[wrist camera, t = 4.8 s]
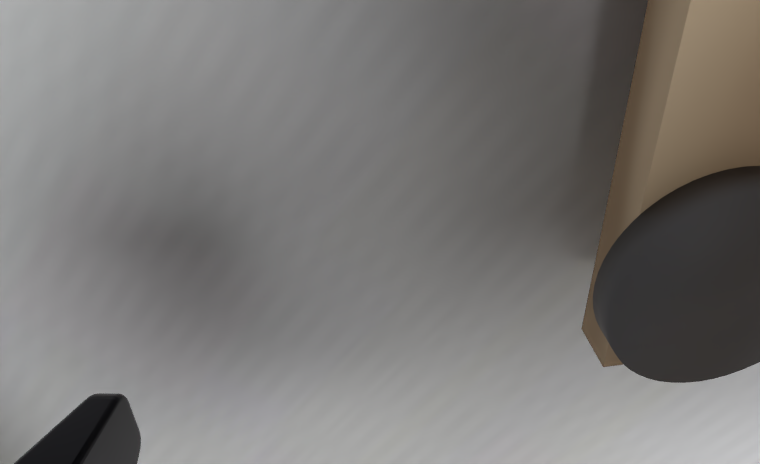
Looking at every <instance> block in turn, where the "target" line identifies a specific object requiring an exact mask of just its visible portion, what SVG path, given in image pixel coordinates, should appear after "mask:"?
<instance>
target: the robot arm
mask: <svg viewBox="0 0 760 464" xmlns="http://www.w3.org/2000/svg"><path fill="white" fill-rule="evenodd" d="M140 446H141V437H140V431H139V428H138V426H137V423H136V420H135V418H134V415H133V412H132V410H131V407H130V404H129V402H128V400H127V398H126V397H125V396H124V395H122V394H94V395H92V396H90V397H88V398H87V399H86V400H85V401H83V402H82V403H81V404H80V405H79V406H78V407H77V408H76V409H75V410H73V411H72V412H71V413H70V414H69V415H68V416H67V417H66V418H64V419H63V420H62V421H61V422H60V423H59V424H58V425H57V426H55V427H54V428H53V429H52V430H51V431H50V432H49V433H48V434H47V435H45V436H44V437H43V438H42V439H41V440H40V441H39V442H38V443H36V444H35V445H34V446H33V447H32V448H31V449H30V450H29V451H27V452H26V453H25V454H24V455H23V456H22V457H21V458H20V459H19V460H17V461H16V462H15V463H14V464H137V461H138V457H139V452H140Z"/></svg>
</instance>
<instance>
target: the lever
mask: <svg viewBox="0 0 760 464" xmlns="http://www.w3.org/2000/svg"><path fill="white" fill-rule="evenodd" d="M582 330H583V332H584V334H585V336H586V337H587V339H588V341H589V343H590V345H591V346H592V348H593V350H594V352H595V353H596V355H597V357H598V359H599V361H600V362H601V364H602V366H603V367H607V366H614V365H622V364H624V365H625V366H626V367H627V368H629V369H630V370H632V371H634V372H635V373H637V374H639V375H641V376H644V377H646V378H649V379H653V380H657V381H664V382H684V383H685V382H696V381H703V380H708V379H714V378H717V377H721V376H725V375H728V374H731V373H734V372H737V371H740V370H742V369H745V368H747V367H749V366H752V365H754V364H756V363H758V362H760V0H648V3H647V8H646V13H645V18H644V23H643V28H642V33H641V38H640V43H639V48H638V53H637V58H636V63H635V68H634V73H633V77H632V82H631V87H630V92H629V97H628V102H627V107H626V112H625V117H624V122H623V127H622V132H621V137H620V142H619V147H618V152H617V157H616V161H615V166H614V171H613V176H612V181H611V186H610V191H609V196H608V201H607V206H606V211H605V216H604V221H603V226H602V231H601V236H600V241H599V246H598V250H597V255H596V260H595V265H594V270H593V275H592V280H591V285H590V290H589V295H588V300H587V305H586V310H585V315H584V320H583V325H582Z"/></svg>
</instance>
